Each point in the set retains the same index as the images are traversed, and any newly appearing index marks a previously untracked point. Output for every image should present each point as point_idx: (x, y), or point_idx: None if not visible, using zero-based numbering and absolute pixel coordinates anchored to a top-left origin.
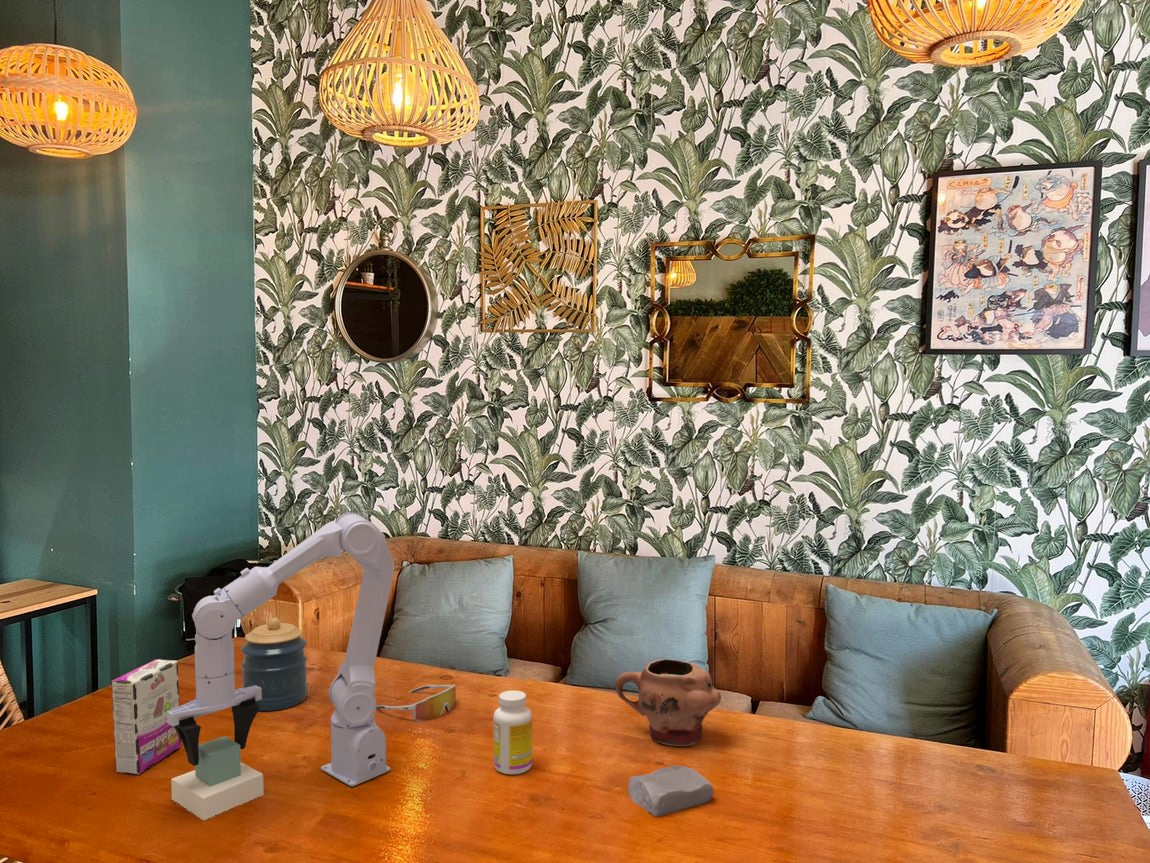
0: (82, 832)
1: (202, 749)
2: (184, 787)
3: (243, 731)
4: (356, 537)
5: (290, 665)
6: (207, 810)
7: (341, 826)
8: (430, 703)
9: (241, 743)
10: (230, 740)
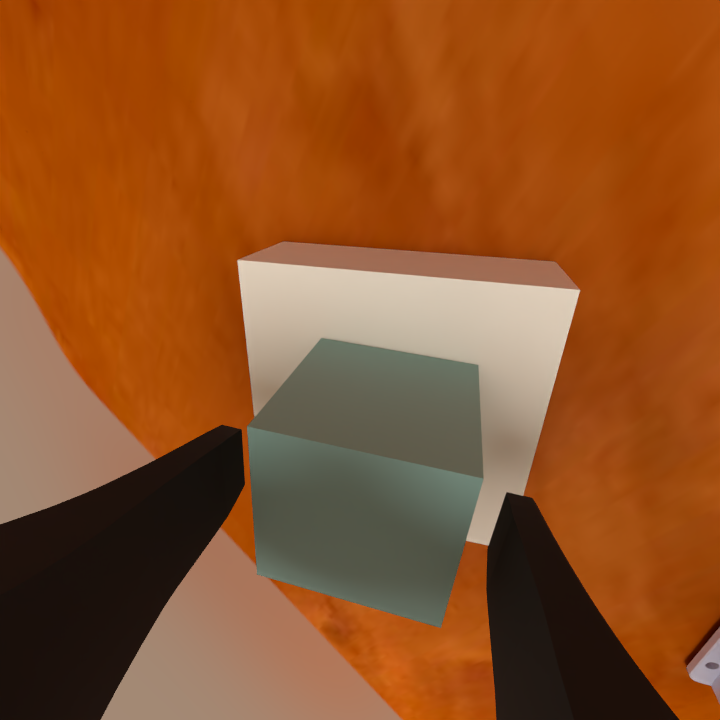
0: (16, 198)
1: (259, 500)
2: (251, 375)
3: (496, 696)
4: None
5: None
6: None
7: (484, 702)
8: None
9: (489, 585)
10: (450, 551)
